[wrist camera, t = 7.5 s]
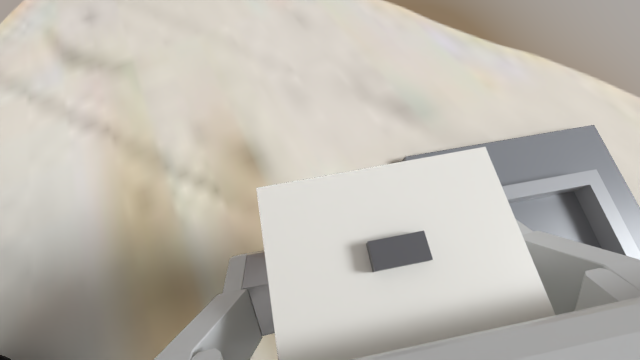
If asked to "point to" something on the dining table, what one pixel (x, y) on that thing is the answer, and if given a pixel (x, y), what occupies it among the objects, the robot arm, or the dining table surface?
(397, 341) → the charger brick
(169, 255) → the dining table surface
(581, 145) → the socket plate
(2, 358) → the digital camera
